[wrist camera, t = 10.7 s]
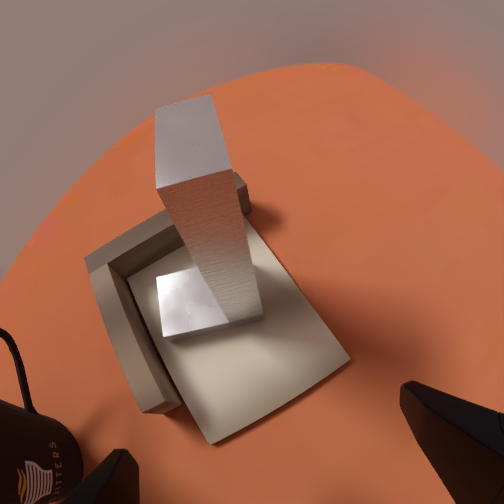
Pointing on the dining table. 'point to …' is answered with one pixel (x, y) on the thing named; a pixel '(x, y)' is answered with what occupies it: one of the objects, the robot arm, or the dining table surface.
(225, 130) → the dining table surface
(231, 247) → the bracket
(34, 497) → the coffee mug
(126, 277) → the corner fixture
